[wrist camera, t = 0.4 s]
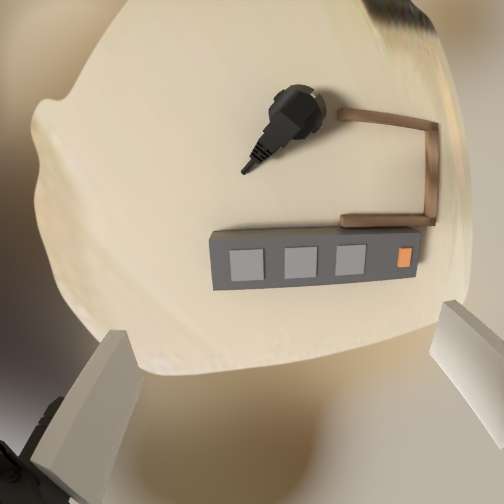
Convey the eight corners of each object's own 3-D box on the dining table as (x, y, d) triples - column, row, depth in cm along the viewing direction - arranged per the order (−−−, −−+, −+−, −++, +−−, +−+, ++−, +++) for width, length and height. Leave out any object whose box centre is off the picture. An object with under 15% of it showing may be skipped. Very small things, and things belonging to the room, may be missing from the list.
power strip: (212, 231, 34) (208, 241, 30) (406, 225, 35) (423, 233, 30) (216, 277, 36) (212, 292, 32) (401, 266, 36) (417, 278, 32)
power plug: (221, 160, 31) (283, 83, 22) (247, 135, 36) (302, 70, 26) (259, 191, 32) (330, 123, 23) (279, 161, 37) (339, 103, 28)
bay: (338, 110, 30) (342, 108, 29) (430, 123, 30) (437, 123, 29) (339, 224, 34) (343, 227, 33) (429, 223, 35) (435, 225, 33)
